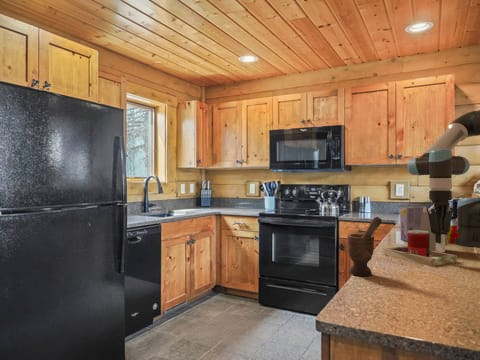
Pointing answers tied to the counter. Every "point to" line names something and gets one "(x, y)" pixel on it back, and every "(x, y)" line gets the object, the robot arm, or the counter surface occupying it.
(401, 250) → the slot frame
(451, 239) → the electrical switch box
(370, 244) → the mortar and pestle
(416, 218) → the cake pan box
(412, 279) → the counter surface
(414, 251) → the canned food
